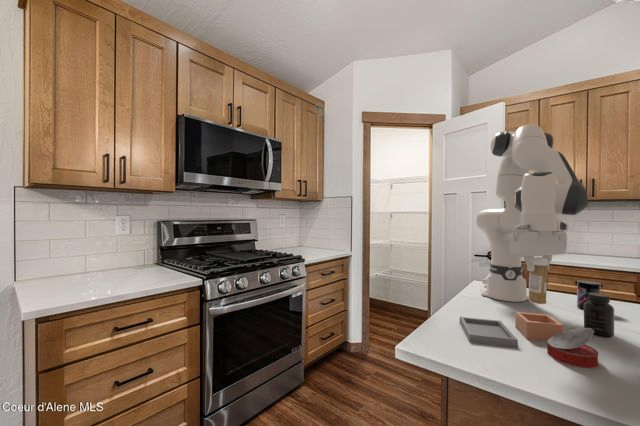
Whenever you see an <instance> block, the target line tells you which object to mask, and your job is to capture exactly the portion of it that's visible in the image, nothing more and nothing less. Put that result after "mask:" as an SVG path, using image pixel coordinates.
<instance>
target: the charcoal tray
mask: <svg viewBox="0 0 640 426" xmlns="http://www.w3.org/2000/svg"><path fill="white" fill-rule="evenodd" d="M459 324H460V326H461V329H462V330H463V332H464V335H465V336H466V338H467V340H468V341H469V342H472V343H479V344H486V345H487V344H488V345H497V346H505V347H513V348H518V347H519V341H518V340H519V339H518V338H517V337H516V336H515V335H514V334H513V333H512V332H511V331H510V329H509V328H508V327H506V325H505V324H504V323H503V322H502V321H501V320H496V319H495V320H494V319H485V318H478V317H477V318H475V317H467V316H459Z"/></svg>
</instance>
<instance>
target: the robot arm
mask: <svg viewBox="0 0 640 426" xmlns="http://www.w3.org/2000/svg"><path fill="white" fill-rule="evenodd" d="M553 148H554V136H552V134H550V133H547V132H544V130H543V129H542V127H540V126H539V125H537V124H534V123H532V124H531V123H529V124H524V125H522V126H520V127H519V128H518V129H516V131H506V130H505V131H500V132H497V133H495V135H493V138H492V139H491V142H490V150H491V154H492V155H493V156H497V157H500V158H501V157H503V158H502V159H501V162H500V165H499V168H498V171H497V172H498V173H497V178H496V186H495V195H496V197H497V198H499V199H500V200H501V201H504V202H505V208H504V207H503V208H488V209H483V210H480V211H479V212H478V214H477V215H476V225H477V227H478V228H479V230H481V231H482V232H483V233H484V234H485V236H486V237H487V239H488V243H489V245H490V246H489V247H490V253H491V254H490V258H491V260H490V261H491V262H490V264H489V272H488V275H487V276H486V277H485V278H482V285H484V286H480V294H481V296H483V297H487V298H491V299H495V300H498V301H499V300H500V301H505V302H513V303H514V302H517V303H519V302H525V301H529V300H528V298H529V295H528V293H527V280H526V279H525V278H524V277H523V276H522V275H523V271H524V270H523V266H522V258H523V260H524V262H525V264H526V269H527V270H526V271H528V272H530V271H531V272H533V271H536V265H534V262H533V260H534V257H541V258H546V259H548V260H549V263H548V267H547V271H549V270H550V264H551V262H552V260H553V256H558V255H564V254H566V251H567V246H568V234H567V232H566V231H568V230H569V224H568V223H566V222H565V221H562V220H561V219H559V218H558V214H559V215H566V216H567V215H568V216H575V215H578V214H579V213H581V212H583V211H584V210H586V208H587V207H588V203H589V194H588V191H587V189H586V188H585V186H584V184H582V182H580V180H579V179H578V177H577V175H576V174H575V171H574V170H573V169H572V167H571V165H570V163H569V162H568V160H567V158H566V157H565V156H564V155H563V153H562V152H560V151H556V150H555V149H553ZM528 171H529V172H528ZM530 171H531V172H530ZM510 235H511V236H510Z"/></svg>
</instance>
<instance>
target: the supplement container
mask: <svg viewBox="0 0 640 426" xmlns="http://www.w3.org/2000/svg"><path fill="white" fill-rule="evenodd" d="M576 284H577V285H576V306H577V308H578V309H580V310H583V311H584V303H585V302H587V301H589V299H588V293H601V288H602V287H601V285H602V284H601V283H600V282H596V281H593V280H584V279H583V280H582V279H581V280H577V283H576Z"/></svg>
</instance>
